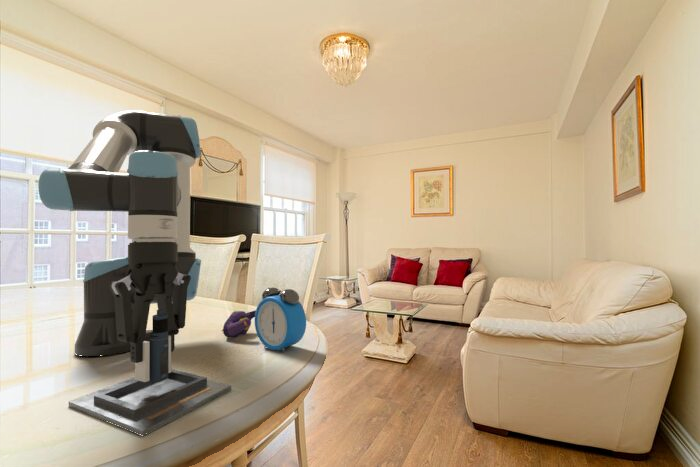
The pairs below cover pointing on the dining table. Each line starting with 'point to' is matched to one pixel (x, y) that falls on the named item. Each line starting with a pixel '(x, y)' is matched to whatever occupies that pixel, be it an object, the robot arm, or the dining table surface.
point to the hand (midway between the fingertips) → (153, 375)
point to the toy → (238, 323)
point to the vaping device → (158, 347)
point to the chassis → (150, 400)
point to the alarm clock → (280, 319)
